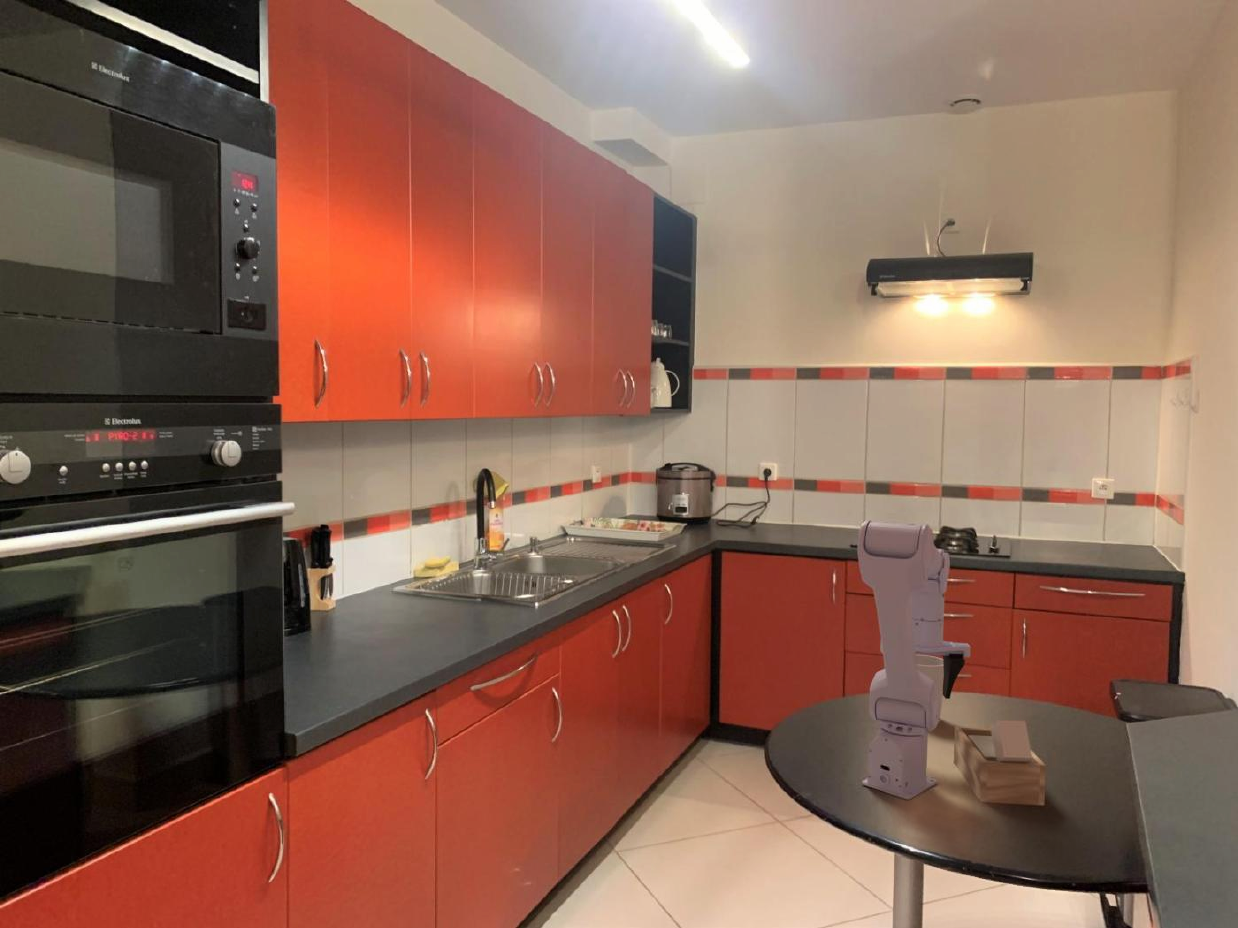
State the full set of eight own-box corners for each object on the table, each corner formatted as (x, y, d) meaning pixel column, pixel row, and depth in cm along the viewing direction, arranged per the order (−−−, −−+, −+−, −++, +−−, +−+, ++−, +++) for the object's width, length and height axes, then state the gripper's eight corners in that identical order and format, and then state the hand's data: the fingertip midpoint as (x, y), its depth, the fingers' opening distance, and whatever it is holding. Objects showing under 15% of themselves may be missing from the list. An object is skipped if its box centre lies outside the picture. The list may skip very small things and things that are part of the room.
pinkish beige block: (1032, 757, 133) (1025, 720, 136) (1004, 756, 133) (997, 720, 136) (1024, 764, 136) (1017, 728, 139) (996, 763, 136) (990, 727, 139)
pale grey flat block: (1029, 782, 137) (1030, 758, 136) (983, 780, 137) (984, 755, 137) (1010, 759, 146) (1011, 736, 145) (967, 757, 146) (968, 734, 146)
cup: (936, 715, 175) (938, 654, 174) (950, 730, 167) (952, 666, 166) (895, 714, 175) (897, 654, 174) (907, 728, 167) (909, 665, 166)
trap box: (1044, 807, 134) (1045, 765, 133) (980, 804, 135) (982, 762, 134) (1010, 768, 149) (1012, 729, 148) (953, 765, 150) (955, 727, 149)
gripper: (963, 613, 156) (960, 690, 157) (878, 610, 157) (875, 686, 158) (975, 623, 149) (972, 703, 150) (885, 620, 150) (883, 699, 151)
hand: (923, 695), depth 153 cm, fingers open, 7 cm apart
